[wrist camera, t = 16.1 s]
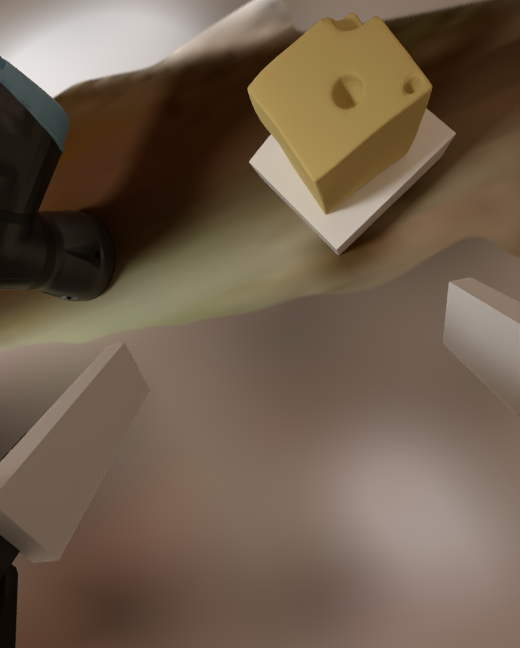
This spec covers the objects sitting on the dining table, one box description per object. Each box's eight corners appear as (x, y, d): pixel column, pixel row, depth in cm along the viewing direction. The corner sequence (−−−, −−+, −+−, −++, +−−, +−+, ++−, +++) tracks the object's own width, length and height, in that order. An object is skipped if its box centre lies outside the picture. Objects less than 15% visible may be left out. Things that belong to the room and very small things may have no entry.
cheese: (355, 75, 29) (355, -31, 20) (414, 157, 28) (445, 87, 19) (274, 147, 32) (241, 85, 23) (324, 223, 31) (312, 191, 22)
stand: (261, 178, 38) (248, 161, 34) (347, 76, 34) (346, 40, 29) (338, 255, 36) (336, 249, 31) (440, 157, 32) (456, 133, 27)
